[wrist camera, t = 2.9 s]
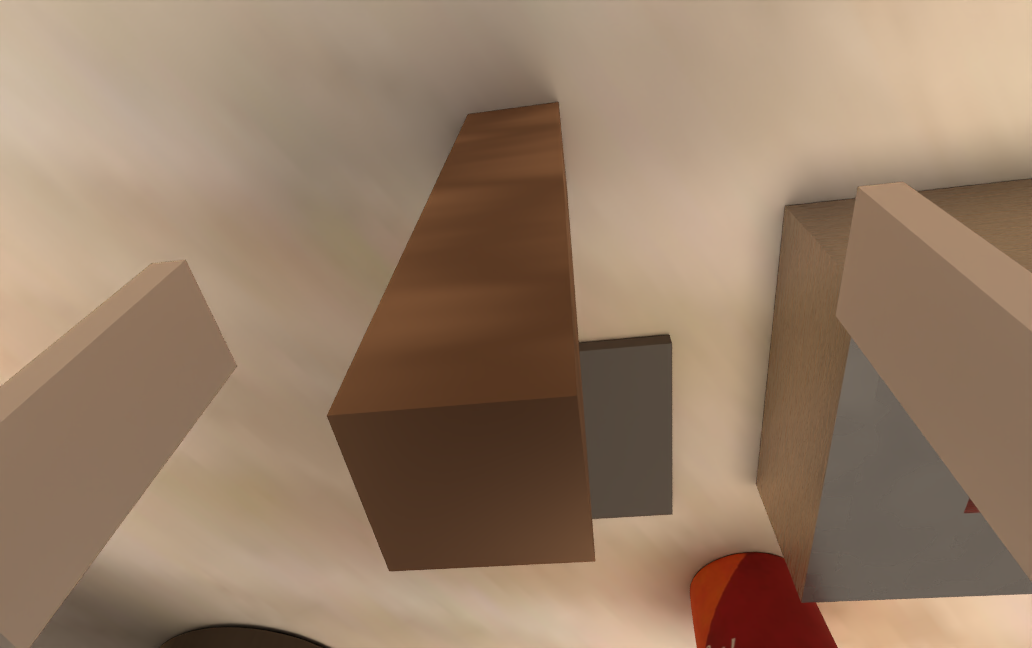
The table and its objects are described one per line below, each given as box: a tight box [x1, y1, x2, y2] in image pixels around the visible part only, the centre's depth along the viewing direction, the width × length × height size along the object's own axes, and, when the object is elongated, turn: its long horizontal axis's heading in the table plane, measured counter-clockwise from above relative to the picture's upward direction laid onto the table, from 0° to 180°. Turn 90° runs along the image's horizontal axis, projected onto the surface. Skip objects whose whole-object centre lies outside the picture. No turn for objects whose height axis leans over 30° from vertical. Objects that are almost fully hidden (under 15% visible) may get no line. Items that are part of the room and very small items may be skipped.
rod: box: [327, 102, 595, 571], centre depth 14 cm, size 3×3×15 cm
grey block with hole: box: [756, 179, 1032, 603], centre depth 21 cm, size 14×14×6 cm
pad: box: [579, 335, 672, 519], centre depth 27 cm, size 10×10×1 cm
